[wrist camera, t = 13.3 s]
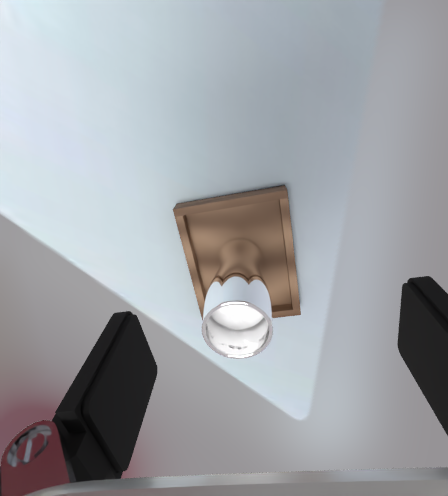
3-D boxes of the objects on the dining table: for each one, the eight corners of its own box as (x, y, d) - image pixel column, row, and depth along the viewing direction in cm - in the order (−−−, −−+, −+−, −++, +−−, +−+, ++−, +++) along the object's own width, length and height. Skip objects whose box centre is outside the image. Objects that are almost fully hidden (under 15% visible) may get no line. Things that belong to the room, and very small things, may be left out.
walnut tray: (176, 203, 40) (172, 209, 38) (284, 185, 38) (287, 189, 36) (206, 315, 47) (204, 325, 45) (298, 304, 46) (300, 314, 43)
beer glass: (204, 262, 42) (184, 335, 29) (235, 225, 40) (229, 285, 26) (244, 289, 44) (243, 371, 30) (276, 255, 41) (291, 327, 28)
